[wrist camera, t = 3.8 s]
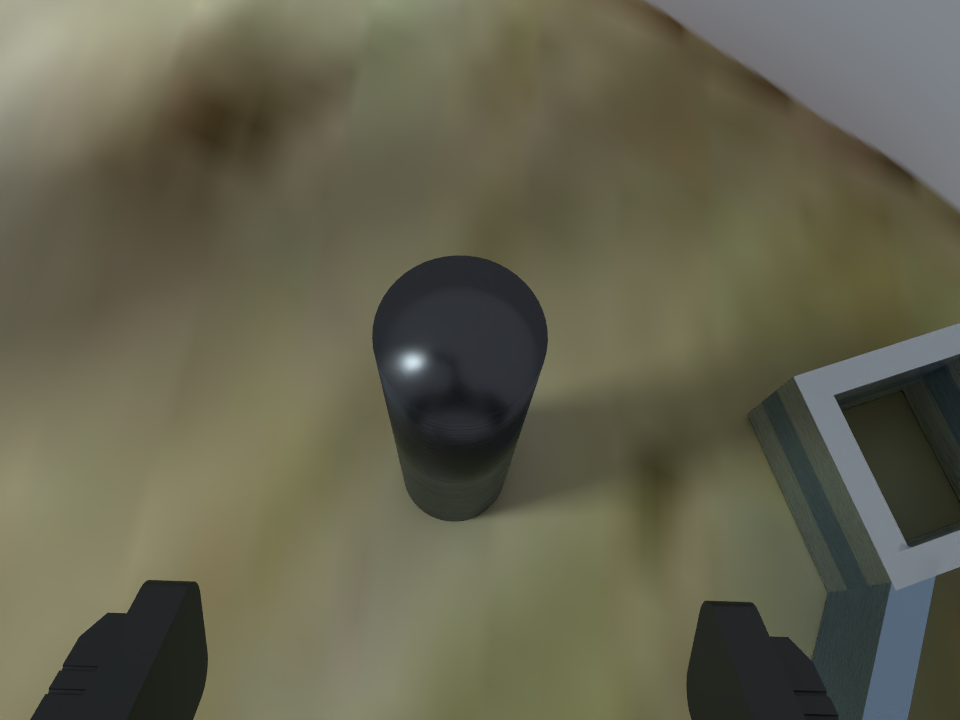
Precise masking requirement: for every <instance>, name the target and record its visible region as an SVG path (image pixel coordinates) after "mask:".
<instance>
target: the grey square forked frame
mask: <svg viewBox="0 0 960 720" xmlns="http://www.w3.org/2000/svg"><path fill="white" fill-rule="evenodd" d="M899 391H903V393H904V395H905V397H906V399H907V400H908V402H909V404H910V406H911V408H912V410H913V412H914V414H915V416H916V418H917V420H918V422H919V424H920V425H921V427H922V429H923V431H924V433H925V435H926V437H927V439H928V441H929V443H930V445H931V447H932V449H933V450H934V452H935V454H936V456H937V458H938V460H939V462H940V464H941V466H942V468H943V470H944V472H945V474H946V475H947V477H948V479H949V481H950V483H951V485H952V487H953V489H954V491H955V493H956V495H957V497H958V498H959V500H960V323H958V324H955V325H952V326H949V327H946V328H943V329H940V330H937V331H934V332H930V333H927V334H924V335H921V336H918V337H915V338H912V339H909V340H906V341H902V342H899V343H896V344H893V345H890V346H887V347H884V348H881V349H878V350H875V351H871V352H868V353H865V354H862V355H859V356H856V357H853V358H850V359H847V360H843V361H840V362H837V363H834V364H831V365H828V366H825V367H822V368H819V369H815V370H812V371H809V372H806V373H803V374H800V375H797V376H794V377H792V378H791V379H790V380H789V381H787V382H786V383H785V384H784V385H782V386H781V387H780V388H779V389H777V390H776V391H775V392H774V393H773V394H771V395H770V396H769V397H768V398H766V399H765V400H764V401H763V402H761V403H760V404H759V405H758V406H756V407H755V408H754V409H753V410H751V411H750V412H749V413H748V417H749V419H750V421H751V423H752V425H753V428H754V430H755V432H756V434H757V436H758V439H759V441H760V443H761V445H762V447H763V450H764V452H765V454H766V456H767V459H768V461H769V463H770V465H771V467H772V470H773V472H774V474H775V476H776V478H777V481H778V483H779V485H780V487H781V489H782V492H783V494H784V496H785V498H786V500H787V503H788V505H789V507H790V509H791V512H792V514H793V516H794V518H795V520H796V523H797V525H798V527H799V529H800V531H801V534H802V536H803V538H804V540H805V542H806V545H807V547H808V549H809V551H810V554H811V556H812V558H813V560H814V562H815V565H816V567H817V569H818V571H819V573H820V576H821V578H822V580H823V582H824V584H825V587H826V589H827V591H828V595H827V600H826V604H825V608H824V612H823V616H822V621H821V625H820V629H819V633H818V637H817V641H816V646H815V650H814V654H813V658H812V662H813V663H814V665H815V668H816V670H817V672H818V674H819V676H820V678H821V680H822V682H823V684H824V686H825V688H826V690H827V696H828V697H830V698H831V700H832V702H833V704H834V707H835V709H836V711H837V713H838V718H839V720H908V715H909V710H910V705H911V700H912V694H913V689H914V684H915V679H916V674H917V669H918V664H919V659H920V654H921V649H922V644H923V638H924V633H925V628H926V623H927V618H928V613H929V608H930V603H931V598H932V593H933V588H934V582H935V577H936V576H937V575H939V574H942V573H945V572H948V571H950V570H953V569H956V568H958V567H960V522H959V523H956V524H953V525H950V526H948V527H945V528H942V529H939V530H936V531H934V532H931V533H928V534H925V535H923V536H920V537H917V538H914V539H911V540H909V541H906V542H905V539H904V537H903V535H902V533H901V531H900V529H899V527H898V525H897V523H896V521H895V519H894V517H893V515H892V513H891V511H890V509H889V507H888V505H887V503H886V501H885V499H884V497H883V495H882V493H881V491H880V489H879V487H878V485H877V483H876V480H875V478H874V476H873V474H872V472H871V470H870V468H869V466H868V464H867V462H866V460H865V458H864V456H863V454H862V452H861V450H860V448H859V446H858V444H857V442H856V440H855V438H854V436H853V434H852V432H851V430H850V428H849V426H848V423H847V421H846V419H845V417H844V415H843V413H842V411H841V410H844V409H847V408H850V407H853V406H856V405H859V404H862V403H865V402H868V401H871V400H874V399H877V398H880V397H884V396H887V395H890V394H893V393H896V392H899Z"/></svg>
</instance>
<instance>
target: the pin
mask: <svg viewBox="0 0 960 720" xmlns="http://www.w3.org/2000/svg"><path fill="white" fill-rule="evenodd" d="M372 339H373V349H374V354H375V358H376V362H377V366H378V371H379V375H380V379H381V383H382V388H383V392H384V396H385V400H386V405H387V409H388V413H389V418H390V422H391V426H392V430H393V435H394V439H395V443H396V447H397V452H398V456H399V460H400V464H401V469H402V473H403V477H404V482H405V486H406V488H407V491H408V493H409V495H410V497H411V499H412V500H413V501H414V503H415V504H416V505H417V506H418V507H419V508H420V509H421V510H423V511H424V512H425V513H427V514H428V515H430V516H432V517H435V518H437V519H440V520H445V521H464V520H467V519H471V518H473V517H476V516H478V515H479V514H481V513H483V512H484V511H485V510H487V509H488V508H489V507H490V506H491V505H492V504H493V503H494V501H495V500H496V499H497V497H498V495H499V494H500V491H501V489H502V486H503V483H504V480H505V477H506V474H507V471H508V468H509V465H510V462H511V459H512V456H513V453H514V450H515V447H516V444H517V441H518V438H519V435H520V432H521V429H522V426H523V423H524V420H525V417H526V414H527V411H528V408H529V405H530V402H531V399H532V396H533V393H534V390H535V387H536V384H537V381H538V378H539V375H540V372H541V369H542V366H543V363H544V359H545V355H546V351H547V343H548V336H547V325H546V320H545V317H544V313H543V310H542V308H541V306H540V304H539V301H538V300H537V298H536V297H535V295H534V293H533V292H532V291H531V289H530V288H529V287H528V286H527V285H526V283H525V282H523V281H522V280H521V279H520V278H519V277H518V276H517V275H515V274H514V273H513V272H511V271H510V270H508V269H507V268H505V267H503V266H501V265H499V264H497V263H494V262H492V261H489V260H486V259H482V258H478V257H471V256H447V257H441V258H437V259H433V260H430V261H427V262H424V263H422V264H420V265H418V266H416V267H414V268H412V269H411V270H409V271H408V272H406V273H405V274H404V275H402V276H401V277H400V278H399V279H398V280H397V281H396V282H395V283H394V284H393V285H392V286H391V287H390V288H389V290H388V291H387V293H386V294H385V296H384V297H383V299H382V301H381V303H380V305H379V307H378V310H377V313H376V316H375V320H374V325H373V337H372Z"/></svg>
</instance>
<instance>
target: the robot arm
mask: <svg viewBox="0 0 960 720" xmlns="http://www.w3.org/2000/svg"><path fill="white" fill-rule="evenodd" d="M207 666H208V653H207V645H206V636H205V628H204V620H203V612H202V604H201V595H200V589H199V586H198V584H197V583H196V582H191V581H162V580H148V581H146V582H145V583H144V584H143V585H142V587H141V588H140V590H139V592H138V594H137V596H136V598H135V600H134V601H133V603H132V605H131V607H130V609H129V611H128V612H127V613H107V614H106V615H104V616H103V617H102V618H101V619H100V620H99V621H97V622H96V623H95V624H94V625H93V626H92V627H90V628H89V629H88V630H87V631H86V632H85V633H83V634H82V635H81V636H80V637H79V638H78V640H77V642H76V644H75V645H74V647H73V649H72V650H71V652H70V654H69V655H68V657H67V659H66V660H65V662H64V664H63V669H62V671H59V672H58V674H57V676H56V677H55V679H54V681H53V682H52V684H51V686H50V687H49V693H48V694H45V696H44V697H43V699H42V701H41V703H40V704H39V706H38V708H37V709H36V711H35V713H34V714H33V716H32V718H31V719H30V720H193V718H194V716H195V713H196V710H197V708H198V705H199V702H200V700H201V697H202V694H203V691H204V687H205V682H206V676H207ZM687 700H688V707H689V712H690V716H691V719H692V720H839V718H838V713H837V711H836V709H835V707H834V704H833V702H832V700H831V698H830V697H828V696H827V690H826V688H825V686H824V684H823V682H822V680H821V678H820V676H819V674H818V672H817V670H816V668H815V665H814V663H813V662H812V661H811V660H810V659H809V658H808V657H807V656H806V655H805V654H804V653H803V652H802V651H801V650H800V649H799V648H798V647H797V646H796V645H795V644H794V643H793V642H792V641H791V640H790V639H789V638H788V637H769V634H768V632H767V630H766V628H765V625H764V623H763V621H762V619H761V616H760V614H759V612H758V610H757V608H756V606H755V605H754V604H753V603H751V602H727V601H705V602H703V604H702V606H701V609H700V613H699V618H698V623H697V628H696V632H695V637H694V642H693V647H692V652H691V657H690V661H689V666H688V672H687Z"/></svg>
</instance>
